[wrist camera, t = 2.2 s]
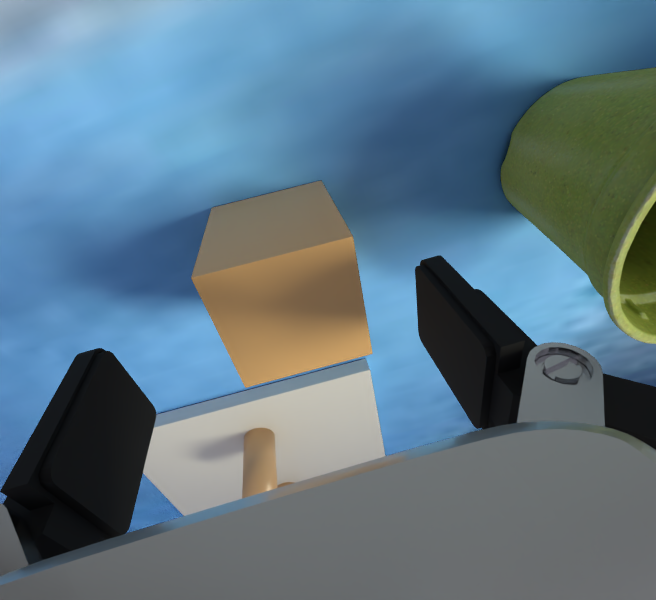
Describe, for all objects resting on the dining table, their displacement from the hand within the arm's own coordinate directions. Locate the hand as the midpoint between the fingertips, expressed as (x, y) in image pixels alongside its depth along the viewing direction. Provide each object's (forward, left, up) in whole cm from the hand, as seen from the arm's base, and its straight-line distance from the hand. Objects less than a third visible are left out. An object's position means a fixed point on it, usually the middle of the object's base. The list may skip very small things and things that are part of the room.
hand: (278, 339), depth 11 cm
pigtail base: (+4, +16, -7) cm, 18 cm away
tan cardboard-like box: (-1, 0, -7) cm, 7 cm away
